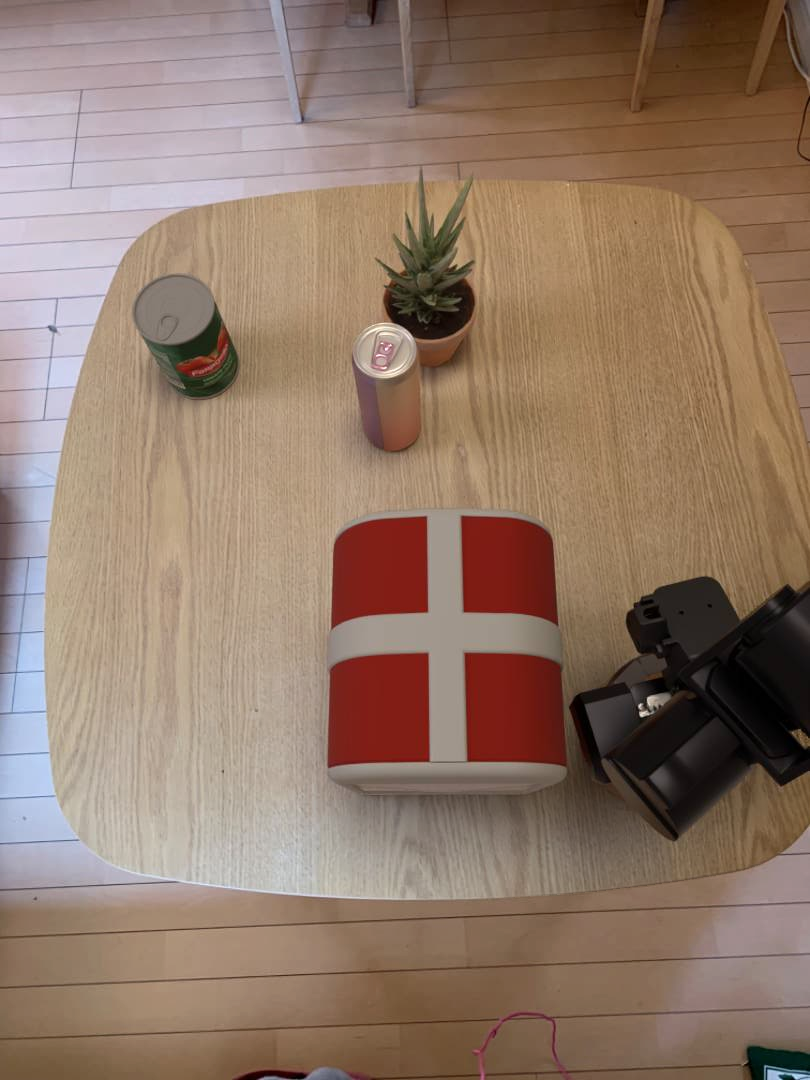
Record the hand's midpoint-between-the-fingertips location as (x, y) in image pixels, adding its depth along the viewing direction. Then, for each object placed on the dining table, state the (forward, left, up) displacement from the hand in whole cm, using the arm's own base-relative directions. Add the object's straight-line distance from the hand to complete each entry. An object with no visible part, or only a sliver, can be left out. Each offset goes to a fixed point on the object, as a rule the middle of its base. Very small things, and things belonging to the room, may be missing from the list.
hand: (678, 722), depth 67 cm
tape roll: (0, 0, -2) cm, 2 cm away
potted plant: (+9, -45, -11) cm, 47 cm away
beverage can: (+15, -36, -11) cm, 41 cm away
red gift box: (+17, -8, -11) cm, 22 cm away
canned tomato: (+33, -48, -11) cm, 59 cm away
